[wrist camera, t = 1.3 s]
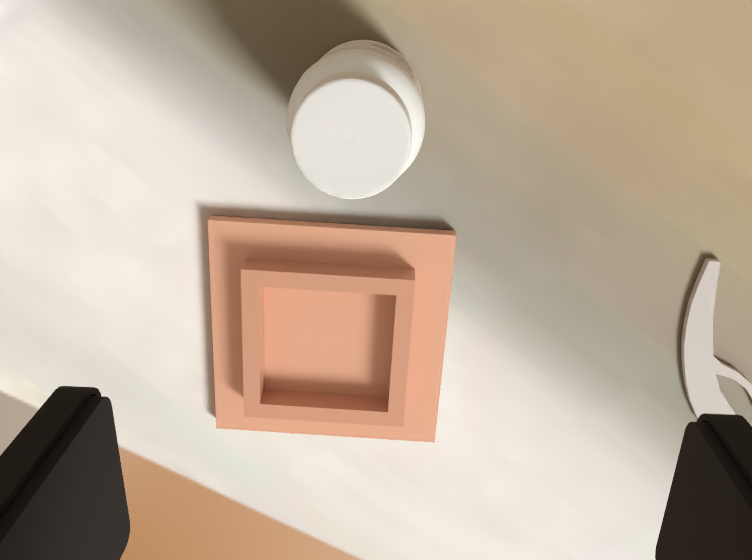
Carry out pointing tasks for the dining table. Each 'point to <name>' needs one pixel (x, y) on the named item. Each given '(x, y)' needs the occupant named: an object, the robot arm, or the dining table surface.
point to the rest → (328, 326)
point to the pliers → (705, 348)
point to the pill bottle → (356, 119)
